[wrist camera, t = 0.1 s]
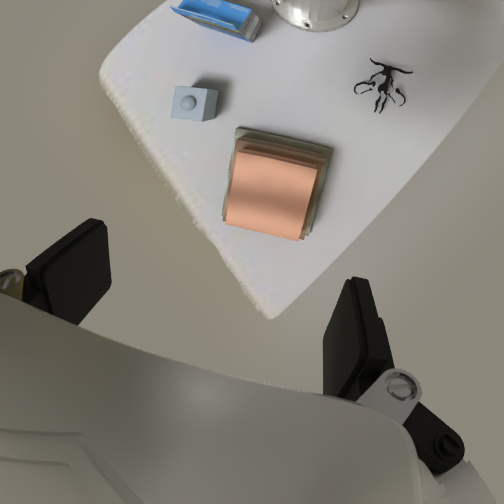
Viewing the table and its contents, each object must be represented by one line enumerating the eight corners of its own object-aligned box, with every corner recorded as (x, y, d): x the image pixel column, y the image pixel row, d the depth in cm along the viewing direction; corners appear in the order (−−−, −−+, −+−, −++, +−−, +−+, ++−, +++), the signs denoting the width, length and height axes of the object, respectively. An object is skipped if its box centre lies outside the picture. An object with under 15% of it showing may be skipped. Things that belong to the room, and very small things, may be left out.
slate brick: (190, 86, 41) (173, 85, 35) (219, 90, 41) (205, 89, 35) (186, 114, 43) (169, 118, 38) (214, 118, 43) (200, 122, 37)
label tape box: (263, 22, 35) (249, -3, 24) (251, 45, 37) (233, 27, 26) (209, 5, 34) (179, -20, 24) (198, 27, 36) (164, 8, 26)
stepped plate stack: (237, 127, 43) (224, 133, 36) (331, 148, 42) (336, 158, 35) (223, 212, 50) (209, 233, 43) (308, 232, 49) (308, 257, 42)
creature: (398, 117, 39) (410, 69, 34) (408, 127, 35) (422, 74, 30) (349, 103, 40) (359, 54, 35) (354, 112, 36) (365, 56, 31)
